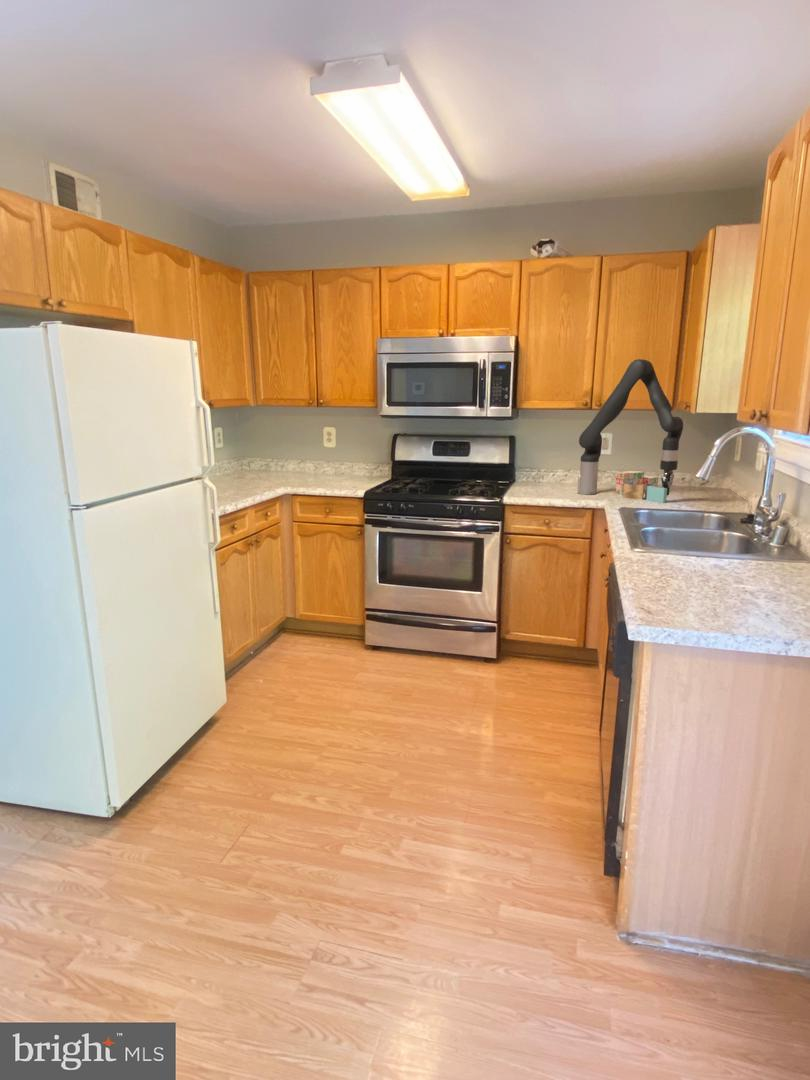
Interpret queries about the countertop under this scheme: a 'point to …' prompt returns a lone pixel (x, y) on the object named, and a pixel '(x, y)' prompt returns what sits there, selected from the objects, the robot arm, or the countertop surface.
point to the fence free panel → (656, 494)
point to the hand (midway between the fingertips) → (666, 495)
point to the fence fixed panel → (634, 491)
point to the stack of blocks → (634, 480)
